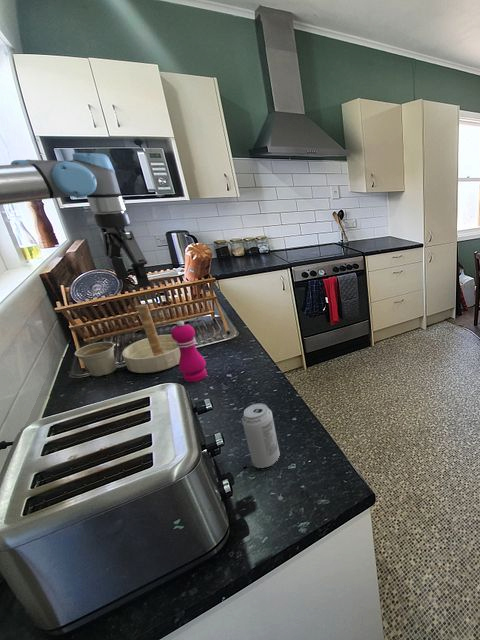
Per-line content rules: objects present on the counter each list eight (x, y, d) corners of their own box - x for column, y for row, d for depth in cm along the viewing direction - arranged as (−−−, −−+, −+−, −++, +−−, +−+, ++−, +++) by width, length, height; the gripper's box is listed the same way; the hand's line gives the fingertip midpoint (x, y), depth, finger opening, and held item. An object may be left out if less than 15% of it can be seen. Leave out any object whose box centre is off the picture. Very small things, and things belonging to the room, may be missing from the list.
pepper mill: (213, 371, 115) (199, 317, 107) (198, 384, 109) (182, 326, 100) (193, 370, 116) (177, 315, 108) (177, 382, 109) (158, 325, 101)
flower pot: (113, 377, 110) (104, 354, 107) (78, 381, 108) (67, 357, 105) (128, 362, 119) (120, 340, 115) (95, 365, 116) (85, 343, 113)
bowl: (144, 380, 109) (138, 364, 107) (118, 365, 117) (112, 349, 115) (200, 357, 123) (195, 342, 121) (173, 344, 131) (169, 330, 129)
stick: (157, 361, 118) (139, 307, 110) (153, 359, 119) (134, 306, 111) (166, 358, 120) (149, 305, 112) (162, 356, 122) (144, 303, 113)
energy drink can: (261, 450, 85) (250, 400, 79) (285, 452, 84) (275, 402, 78) (247, 469, 79) (234, 418, 73) (272, 472, 79) (261, 420, 73)
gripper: (147, 215, 97) (168, 286, 106) (106, 207, 108) (128, 272, 117) (114, 217, 91) (139, 293, 100) (75, 209, 102) (100, 278, 111)
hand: (133, 282), depth 108 cm, fingers open, 13 cm apart
